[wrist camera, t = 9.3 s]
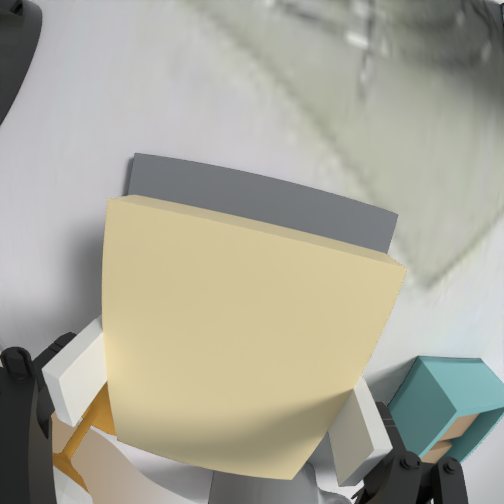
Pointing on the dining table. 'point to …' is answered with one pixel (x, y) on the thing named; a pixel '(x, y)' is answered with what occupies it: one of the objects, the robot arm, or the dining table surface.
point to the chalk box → (502, 10)
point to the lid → (234, 333)
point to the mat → (262, 200)
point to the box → (447, 407)
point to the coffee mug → (271, 489)
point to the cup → (65, 476)
